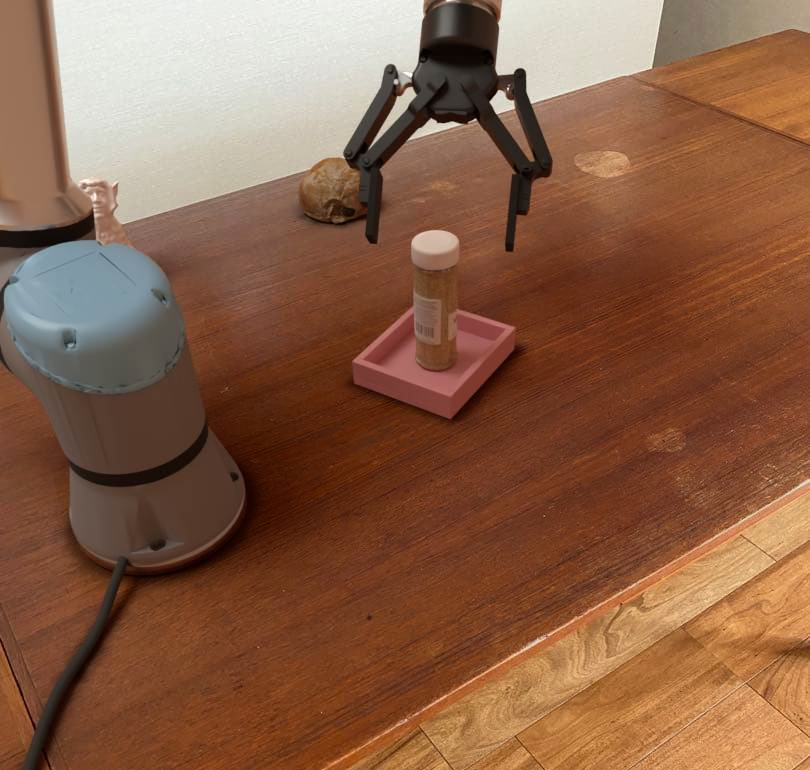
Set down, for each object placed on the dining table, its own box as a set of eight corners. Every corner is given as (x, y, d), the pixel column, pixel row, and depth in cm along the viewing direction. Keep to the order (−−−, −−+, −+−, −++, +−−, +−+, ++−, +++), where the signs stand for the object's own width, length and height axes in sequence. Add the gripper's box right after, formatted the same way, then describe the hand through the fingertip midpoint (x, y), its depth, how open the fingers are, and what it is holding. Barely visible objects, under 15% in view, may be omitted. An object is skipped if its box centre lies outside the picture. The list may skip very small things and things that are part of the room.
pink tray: (450, 419, 85) (450, 397, 83) (353, 383, 90) (351, 361, 88) (514, 349, 93) (516, 327, 91) (422, 319, 97) (421, 297, 95)
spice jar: (466, 362, 90) (469, 242, 80) (430, 377, 89) (429, 257, 79) (440, 341, 93) (441, 223, 83) (405, 356, 91) (401, 237, 81)
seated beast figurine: (80, 303, 102) (46, 205, 93) (72, 268, 107) (39, 172, 98) (161, 286, 104) (135, 188, 95) (148, 252, 109) (123, 157, 100)
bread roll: (311, 250, 115) (314, 209, 108) (285, 189, 118) (286, 145, 111) (380, 233, 118) (387, 192, 110) (353, 174, 121) (358, 130, 113)
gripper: (589, 45, 85) (566, 262, 87) (342, 38, 89) (323, 247, 90) (595, 1, 78) (570, 239, 79) (326, -4, 81) (305, 224, 82)
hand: (439, 244), depth 84 cm, fingers open, 13 cm apart
